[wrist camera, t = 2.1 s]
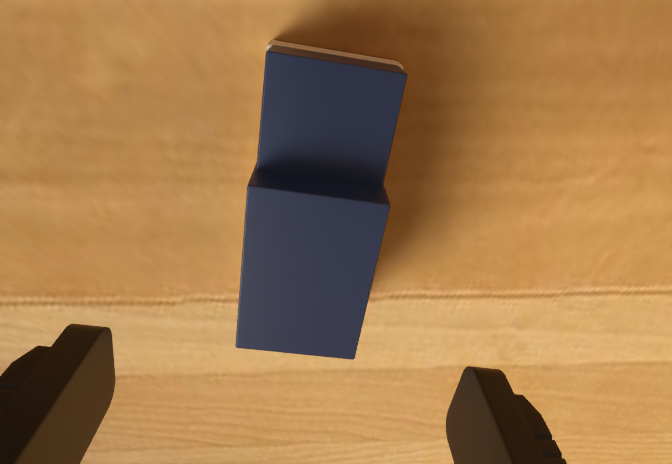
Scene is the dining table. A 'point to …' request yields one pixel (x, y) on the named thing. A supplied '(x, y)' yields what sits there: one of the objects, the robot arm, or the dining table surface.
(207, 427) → the dining table surface
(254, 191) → the blue stepped block
